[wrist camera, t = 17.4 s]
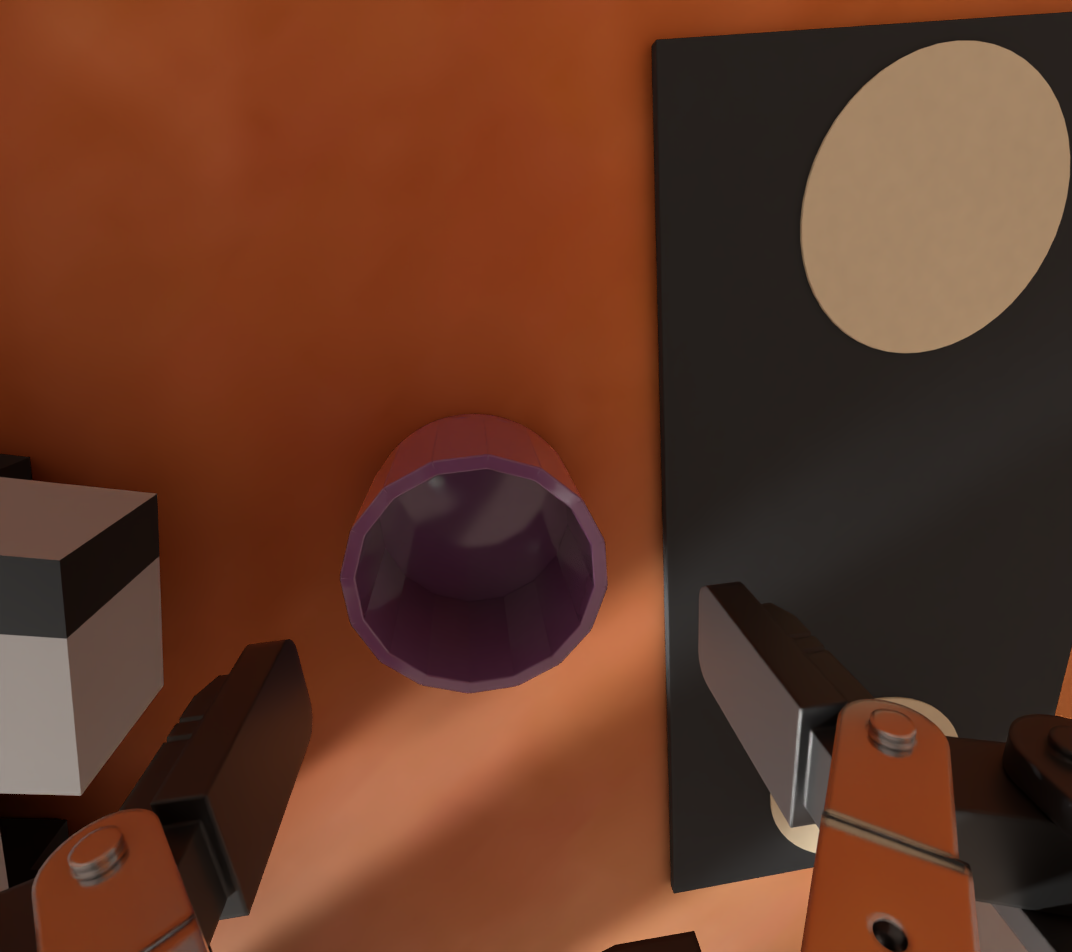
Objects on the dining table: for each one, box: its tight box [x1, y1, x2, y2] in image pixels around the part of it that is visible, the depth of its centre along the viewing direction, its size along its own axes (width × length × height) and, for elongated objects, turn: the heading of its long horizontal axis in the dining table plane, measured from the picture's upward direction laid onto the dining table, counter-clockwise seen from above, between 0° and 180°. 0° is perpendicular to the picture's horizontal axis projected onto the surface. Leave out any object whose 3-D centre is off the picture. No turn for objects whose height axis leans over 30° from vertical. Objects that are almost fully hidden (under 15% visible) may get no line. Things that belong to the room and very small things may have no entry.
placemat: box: [652, 12, 1072, 893], centre depth 20 cm, size 16×30×1 cm, turn 5°
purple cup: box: [340, 414, 608, 693], centre depth 16 cm, size 6×6×4 cm
